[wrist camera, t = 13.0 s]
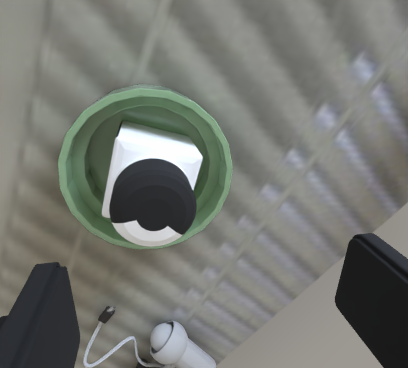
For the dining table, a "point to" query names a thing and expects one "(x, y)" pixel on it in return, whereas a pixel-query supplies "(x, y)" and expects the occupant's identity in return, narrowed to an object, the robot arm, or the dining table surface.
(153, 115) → the bowl
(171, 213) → the medicine bottle
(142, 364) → the clip-on lamp
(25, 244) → the dining table surface
